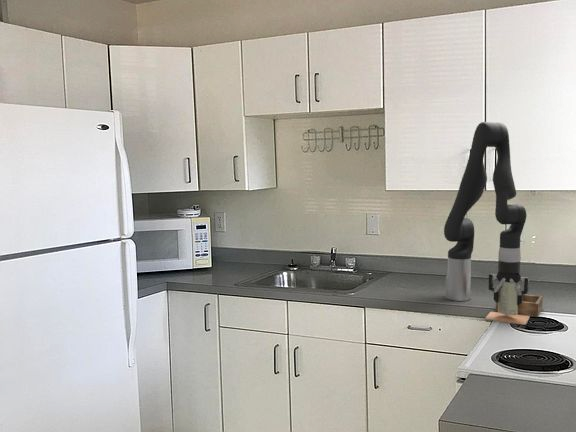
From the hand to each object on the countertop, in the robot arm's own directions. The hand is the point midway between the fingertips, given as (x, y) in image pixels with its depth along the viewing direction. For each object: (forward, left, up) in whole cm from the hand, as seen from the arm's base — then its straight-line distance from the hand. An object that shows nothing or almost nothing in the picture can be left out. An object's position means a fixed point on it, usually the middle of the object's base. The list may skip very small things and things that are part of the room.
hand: (507, 303), depth 230 cm
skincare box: (0, 0, -4) cm, 4 cm away
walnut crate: (+2, +13, -6) cm, 14 cm away
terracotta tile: (0, 0, -6) cm, 6 cm away
